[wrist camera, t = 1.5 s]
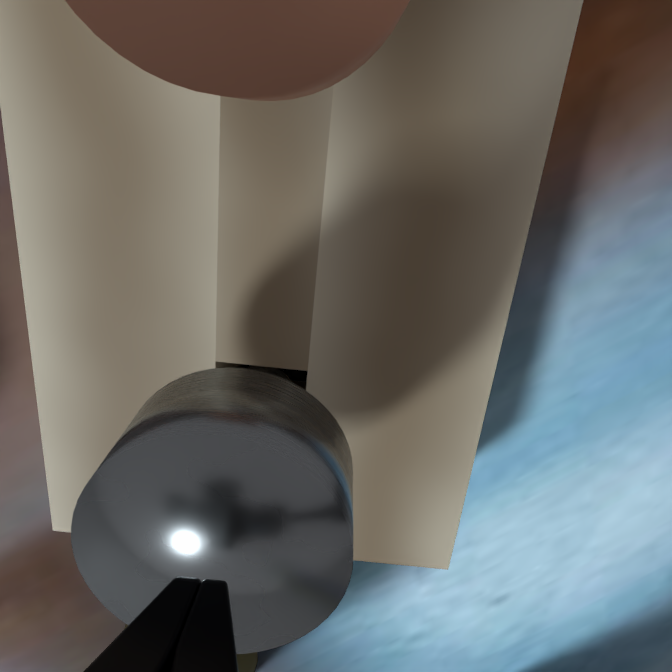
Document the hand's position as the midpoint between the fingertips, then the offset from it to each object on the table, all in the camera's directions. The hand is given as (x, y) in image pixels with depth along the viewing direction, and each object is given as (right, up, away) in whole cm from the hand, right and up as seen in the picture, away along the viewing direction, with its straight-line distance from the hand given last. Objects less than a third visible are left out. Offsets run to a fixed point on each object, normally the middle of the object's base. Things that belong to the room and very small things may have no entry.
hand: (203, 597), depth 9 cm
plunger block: (+1, +8, +8) cm, 11 cm away
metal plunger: (0, +3, +7) cm, 7 cm away
